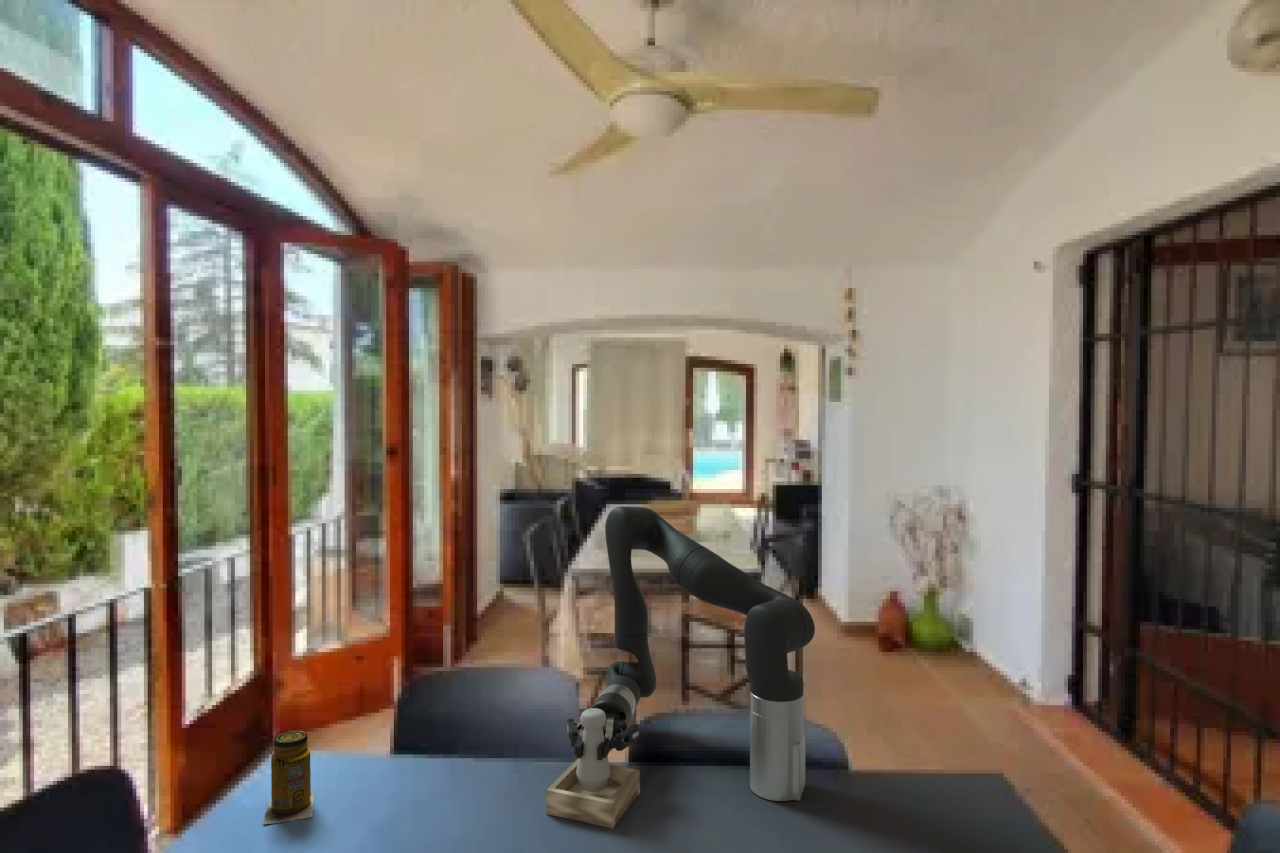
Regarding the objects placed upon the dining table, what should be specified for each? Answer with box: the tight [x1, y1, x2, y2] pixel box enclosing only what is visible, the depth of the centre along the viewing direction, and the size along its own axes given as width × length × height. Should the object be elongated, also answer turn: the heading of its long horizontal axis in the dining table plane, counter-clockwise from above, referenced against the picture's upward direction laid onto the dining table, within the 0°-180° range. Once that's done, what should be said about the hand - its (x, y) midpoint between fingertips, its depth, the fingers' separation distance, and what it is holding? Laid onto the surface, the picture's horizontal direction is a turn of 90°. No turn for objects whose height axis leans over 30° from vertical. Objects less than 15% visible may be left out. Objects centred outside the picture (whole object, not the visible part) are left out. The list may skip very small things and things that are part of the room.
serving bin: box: [545, 758, 641, 829], centre depth 129 cm, size 12×12×4 cm
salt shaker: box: [576, 707, 611, 792], centre depth 129 cm, size 6×6×13 cm
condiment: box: [262, 730, 316, 825], centre depth 127 cm, size 7×8×12 cm
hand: (589, 753), depth 126 cm, fingers closed on salt shaker, 3 cm apart
